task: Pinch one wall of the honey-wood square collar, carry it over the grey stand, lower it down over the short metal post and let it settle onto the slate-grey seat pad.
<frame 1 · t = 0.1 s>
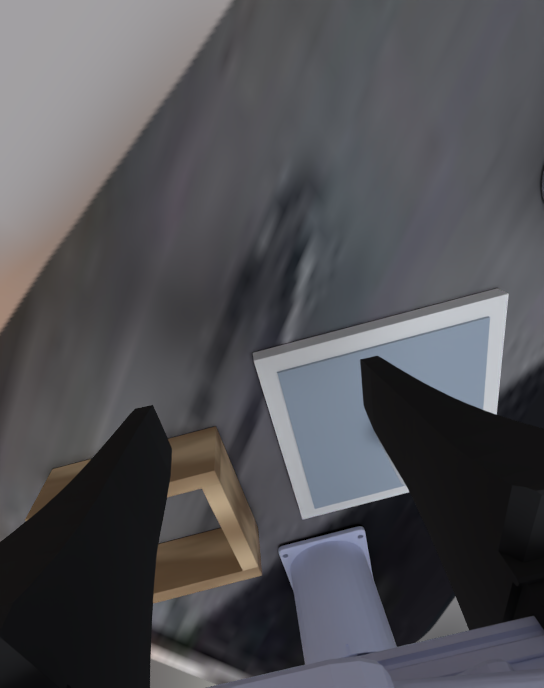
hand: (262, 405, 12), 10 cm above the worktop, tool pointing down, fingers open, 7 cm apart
post stand: (384, 415, 27), on the worktop
wood collar: (165, 501, 28), on the worktop
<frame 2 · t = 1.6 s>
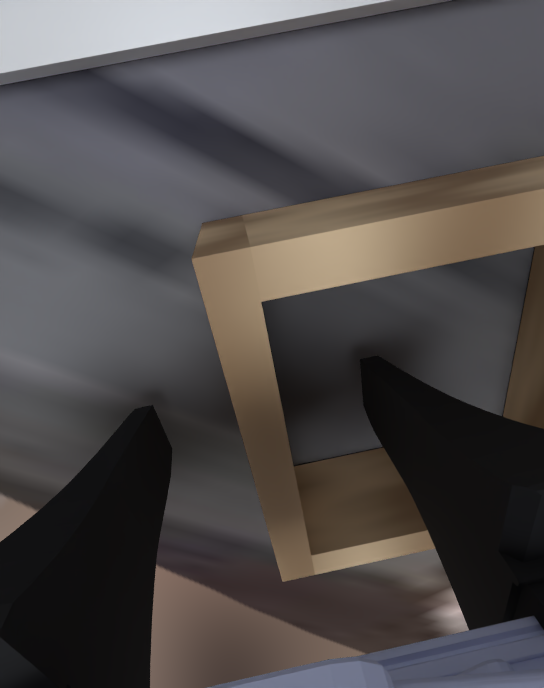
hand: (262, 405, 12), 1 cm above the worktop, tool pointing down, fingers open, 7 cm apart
wood collar: (398, 353, 14), on the worktop
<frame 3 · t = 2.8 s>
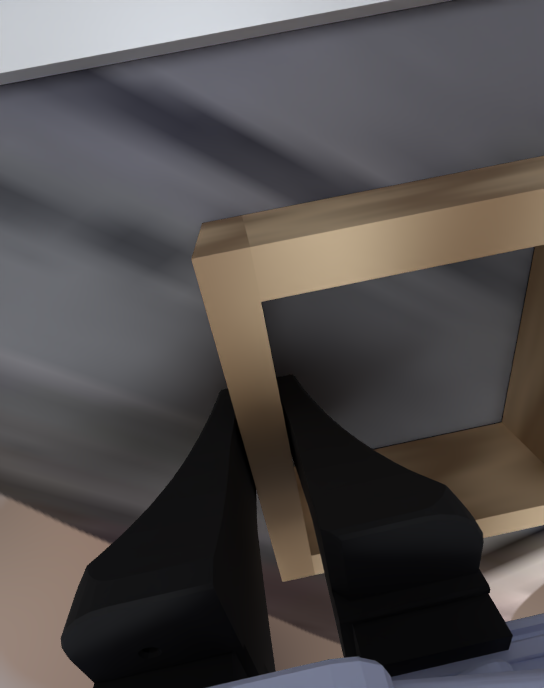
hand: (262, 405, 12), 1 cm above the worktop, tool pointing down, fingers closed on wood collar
wood collar: (398, 353, 14), on the worktop, touching gripper
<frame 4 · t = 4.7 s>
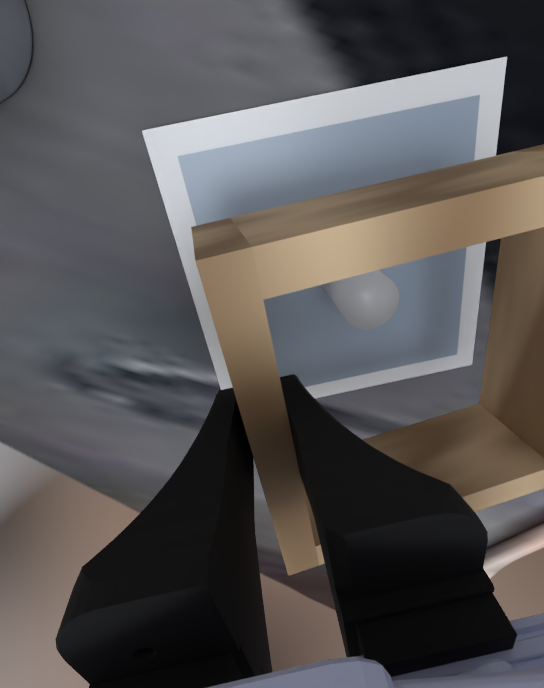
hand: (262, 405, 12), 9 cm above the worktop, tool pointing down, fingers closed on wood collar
post stand: (336, 266, 20), on the worktop
wood collar: (382, 344, 14), point 7 cm above the worktop, tilted 6°, touching gripper
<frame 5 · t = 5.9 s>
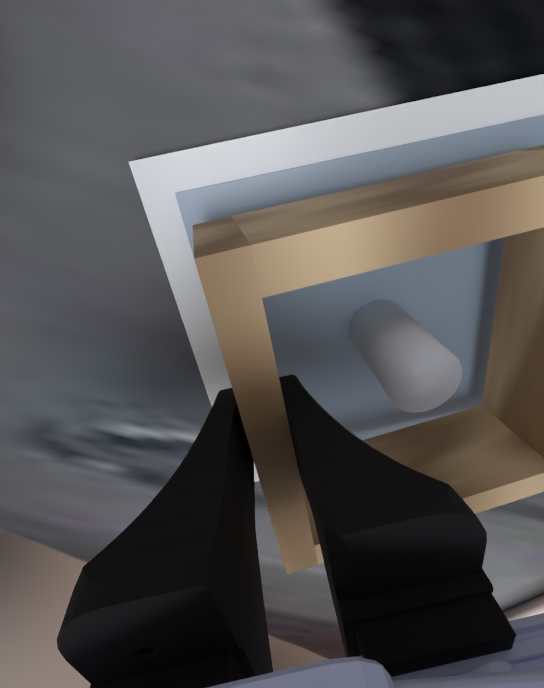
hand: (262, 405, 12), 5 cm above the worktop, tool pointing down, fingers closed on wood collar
post stand: (367, 315, 17), on the worktop
wood collar: (384, 344, 14), point 3 cm above the worktop, tilted 5°, touching gripper
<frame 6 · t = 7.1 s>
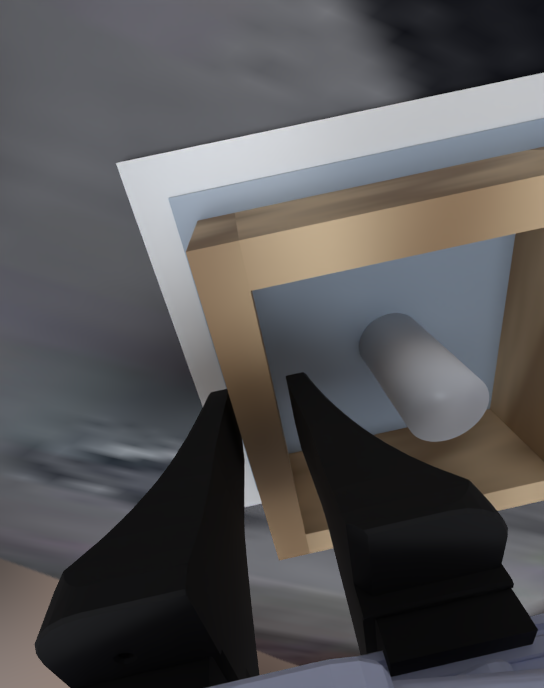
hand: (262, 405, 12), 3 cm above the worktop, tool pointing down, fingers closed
post stand: (378, 328, 15), on the worktop
wood collar: (386, 342, 14), point 1 cm above the worktop, touching post stand
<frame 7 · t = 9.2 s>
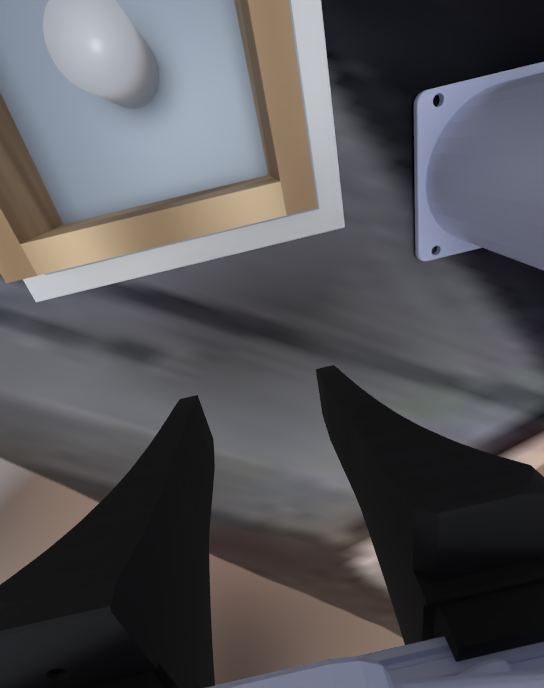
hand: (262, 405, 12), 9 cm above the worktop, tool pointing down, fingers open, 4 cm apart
post stand: (132, 76, 15), on the worktop
wood collar: (123, 71, 14), point 1 cm above the worktop, touching post stand
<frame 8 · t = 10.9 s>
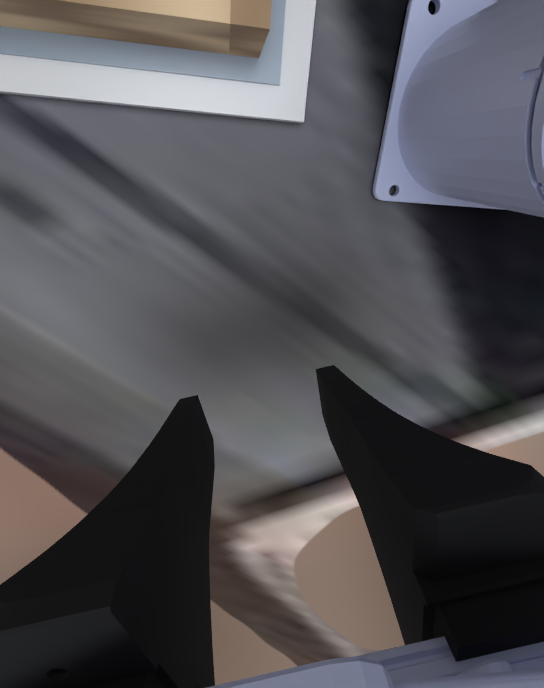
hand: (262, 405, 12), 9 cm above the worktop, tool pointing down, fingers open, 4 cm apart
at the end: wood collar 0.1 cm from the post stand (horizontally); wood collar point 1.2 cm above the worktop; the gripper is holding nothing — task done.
